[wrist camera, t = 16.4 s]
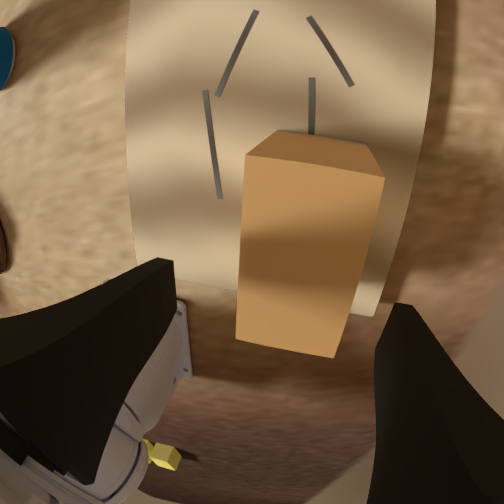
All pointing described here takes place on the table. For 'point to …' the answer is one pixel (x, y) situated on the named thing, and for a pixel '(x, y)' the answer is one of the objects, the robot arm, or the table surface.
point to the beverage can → (6, 55)
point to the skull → (2, 252)
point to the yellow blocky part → (163, 455)
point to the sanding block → (304, 239)
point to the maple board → (266, 115)
